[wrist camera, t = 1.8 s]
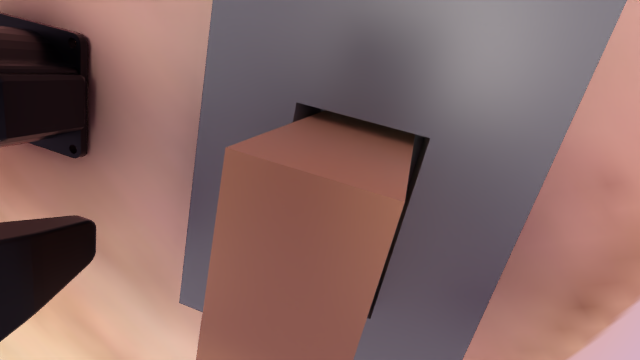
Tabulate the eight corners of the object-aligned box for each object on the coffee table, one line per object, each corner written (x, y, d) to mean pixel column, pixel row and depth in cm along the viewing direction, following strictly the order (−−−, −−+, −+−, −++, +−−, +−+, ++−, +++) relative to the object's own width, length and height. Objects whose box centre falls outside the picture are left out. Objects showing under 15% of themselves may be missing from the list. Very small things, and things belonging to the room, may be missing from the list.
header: (231, 254, 20) (179, 302, 15) (334, -388, 12) (284, -645, 7) (436, 328, 18) (440, 408, 13) (730, -388, 10) (966, -743, 5)
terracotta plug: (301, 236, 17) (193, 378, 9) (330, 108, 15) (225, 147, 7) (374, 261, 16) (327, 437, 8) (415, 131, 14) (405, 202, 6)
